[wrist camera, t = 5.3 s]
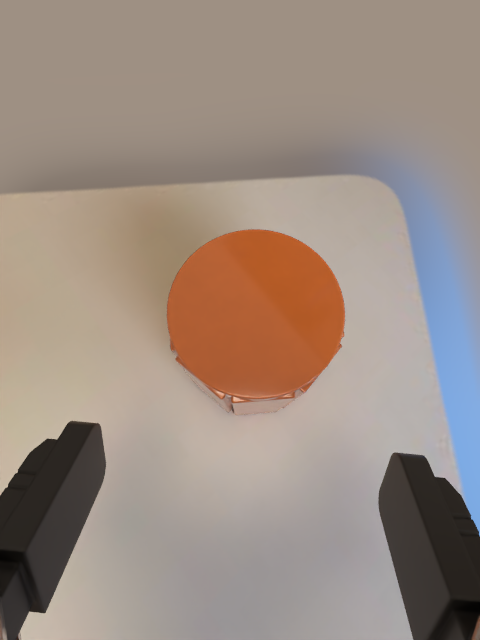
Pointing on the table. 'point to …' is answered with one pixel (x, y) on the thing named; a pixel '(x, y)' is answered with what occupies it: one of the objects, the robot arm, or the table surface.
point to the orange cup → (255, 319)
